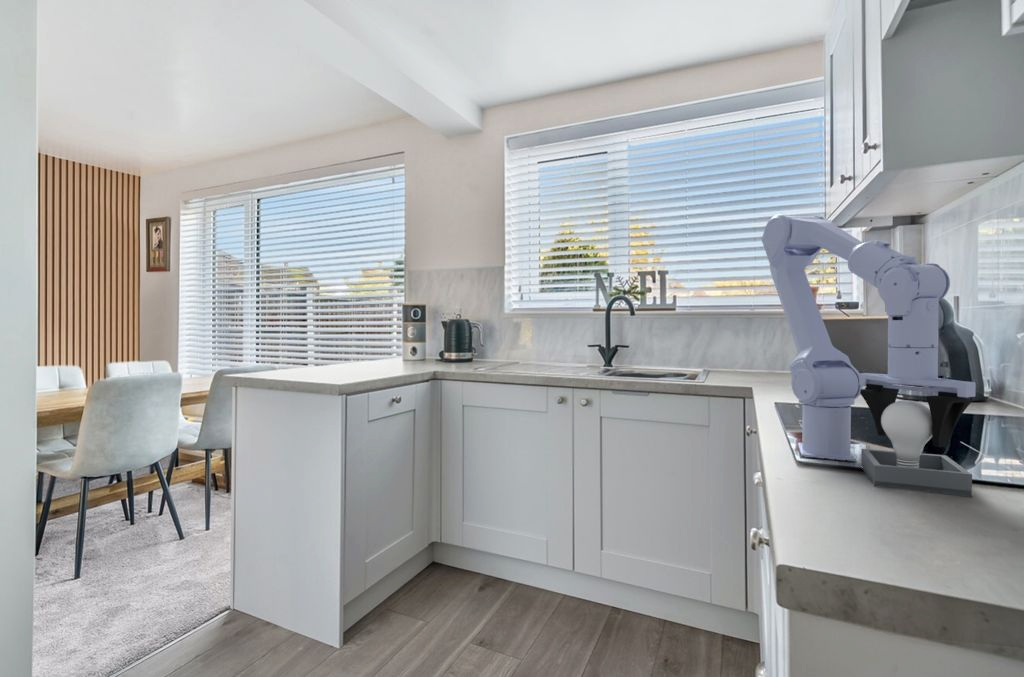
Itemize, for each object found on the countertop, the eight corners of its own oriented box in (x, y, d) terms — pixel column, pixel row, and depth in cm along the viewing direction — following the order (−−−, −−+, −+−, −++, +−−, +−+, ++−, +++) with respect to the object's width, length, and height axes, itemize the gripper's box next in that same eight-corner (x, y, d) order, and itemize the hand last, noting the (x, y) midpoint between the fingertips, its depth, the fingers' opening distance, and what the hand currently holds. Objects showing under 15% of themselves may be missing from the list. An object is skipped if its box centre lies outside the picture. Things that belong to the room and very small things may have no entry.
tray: (861, 467, 81) (861, 448, 81) (945, 475, 76) (946, 455, 76) (874, 486, 71) (874, 465, 71) (971, 496, 67) (972, 474, 67)
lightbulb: (945, 484, 69) (946, 404, 69) (891, 480, 71) (891, 403, 71) (923, 471, 75) (923, 398, 75) (873, 468, 77) (874, 396, 77)
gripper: (844, 346, 79) (844, 432, 79) (950, 350, 65) (949, 454, 65) (877, 345, 81) (876, 429, 81) (986, 348, 67) (985, 449, 68)
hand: (911, 440), depth 74 cm, fingers open, 7 cm apart
